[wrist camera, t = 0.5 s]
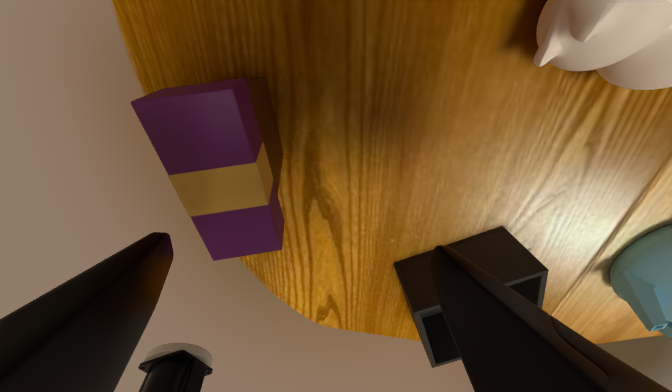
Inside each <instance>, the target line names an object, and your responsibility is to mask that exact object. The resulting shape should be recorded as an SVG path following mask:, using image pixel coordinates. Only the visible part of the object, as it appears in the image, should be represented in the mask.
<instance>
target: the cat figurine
mask: <svg viewBox="0 0 672 392" xmlns="http://www.w3.org/2000/svg"><path fill="white" fill-rule="evenodd" d="M536 38H537V44H538V47H539V48H538V50H537V52H536V55H535V57H534V61H533V64H534V65H535V66H538V67H541V66H543V65H545V64H546V63H547V62H549V63H551V64H552V65H554V66H555V67H558V68H560V69H564V70H568V71H589V70H595V69H596V71H597V72H598V74H599V75H600V76H601V77H602V78H604V79H605V80H606V81H608V82H610V83H611V84H614V85H616V86H619V87H623V88H627V89H635V90H651V89H661V88H667V87H672V0H547V2H546V4H545V5H544V7H543V10H542V12H541V14H540V17H539V20H538V24H537V33H536Z"/></svg>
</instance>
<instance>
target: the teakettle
mask: <svg viewBox="0 0 672 392" xmlns="http://www.w3.org/2000/svg"><path fill="white" fill-rule="evenodd" d="M610 279H611V285H612V288H613V290H614V292H615V293H616V294H617V295H618V296H619V297H621V298H622V299H623V300H625V301H626V302H628V304H629V305H630V306H631V308H632V309H633V311H634V312H635V313H636V315H637V316H638V317H639V319H640V320H641V321H642V323H643V324H644V325H645V327H646V328H647V329H648V330H649V331H655V330H657V331H659V332H661V333H663V334H664V335H666V336H668V337H669V338H671V339H672V225H668V226H665V227H662V228H660V229H657V230H655V231H653V232H651V233H649V234H647V235H645V236H643V237H642V238H640V239H638V240H637V241H635V242H634V243H633V244H631V245H630V246H629V247H627V248H626V249H625V250H624V251H623V252H622V253H621V254H620V255H619V256H618V257H617V258H616V260H615V261H614V263H613V264H612V266H611V269H610Z"/></svg>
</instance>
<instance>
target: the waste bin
mask: <svg viewBox="0 0 672 392" xmlns="http://www.w3.org/2000/svg"><path fill="white" fill-rule="evenodd" d="M447 246H449V247H450V248H452V249H453V250H455V251H456V252H458V253H459V254H461V255H462V256H464V257H465V258H467V259H468V260H469V261H471V262H472V263H474V264H475V265H477V266H478V267H480V268H481V269H483V270H484V271H486V272H487V273H489V274H490V275H492V276H493V277H495V278H496V279H498V280H499V281H501V282H502V283H504V284H505V285H506V286H508V287H509V288H511V289H512V290H514V291H515V292H517V293H518V294H520V295H521V296H523V297H524V298H526V299H527V300H529V301H530V302H532V303H533V304H535V305H536V306H538V307H539V308H541V309H542V305H543V299H544V293H545V287H546V281H547V275H548V269H547V268H546V267H545V266H544V265H543V264H542V263H541V262H540V261H539V260H538V259H537V258H535V257H534V256H533V255H532V254H531V253H530V252H529V251H528V250H527V249H526V248H525V247H524V246H523V245H522V244H521V243H520V242H519V241H518V240H517V239H515V238H514V237H513V236H512V235H511V234H510V233H509V232H508V231H507V230H506V229H505V228H504V227H503V226H502V227H499V228H496V229H493V230H490V231H488V232H485V233H482V234H479V235H476V236H473V237H470V238H467V239H464V240H461V241H458V242H455V243H452V244H449V245H447ZM433 251H434V250H432V251H429V252H426V253H423V254H420V255H417V256H414V257H411V258H408V259H406V260H403V261H400V262H397V263H394V267H395V270H396V272H397V275H398V278H399V281H400V284H401V287H402V289H403V292H404V295H405V298H406V301H407V304H408V307H409V309H410V312H411V315H412V318H413V321H414V323H415V326H416V328H417V331H418V333H419V336H420V338H421V341H422V343H423V346H424V349H425V351H426V354H427V356H428V359H429V361H430V363H431V366H432V368H434V367H436V366H440V365H444V364H447V363H450V362H454V361H457V360H461V357H460V354H459V352H458V349H457V347H456V345H455V342H454V340H453V337H452V335H451V332H450V330H449V327H448V325H447V323H446V320H445V318H444V315H443V313H442V310H441V307H440V305H439V302H438V298H437V295H436V292H435V288H434V285H433V282H432V278H431V275H430V272H429V268H428V261H429V259H430V257H431V255H432V253H433Z"/></svg>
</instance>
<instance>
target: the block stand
mask: <svg viewBox="0 0 672 392" xmlns="http://www.w3.org/2000/svg"><path fill="white" fill-rule="evenodd" d="M246 83H247V86H248V90H249V94H250V97H251V101H252V105H253V108H254V112H255V116H256V119H257V123H258V126H259V130H260V134H261V137H262V141H263V143H264V146H265V150H266V154H267V157H268V161H269V165H270V168H271V172H272V176H273V181H274V185H275V188H276V192H277V195H278V188H279V181H280V174H281V166H282V159H283V150H282V146H281V142H280V138H279V133H278V129H277V125H276V121H275V116H274V112H273V108H272V104H271V99H270V95H269V91H268V87H267V83H266V78H265V77H263V78H256V79H248V80H246Z"/></svg>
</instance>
